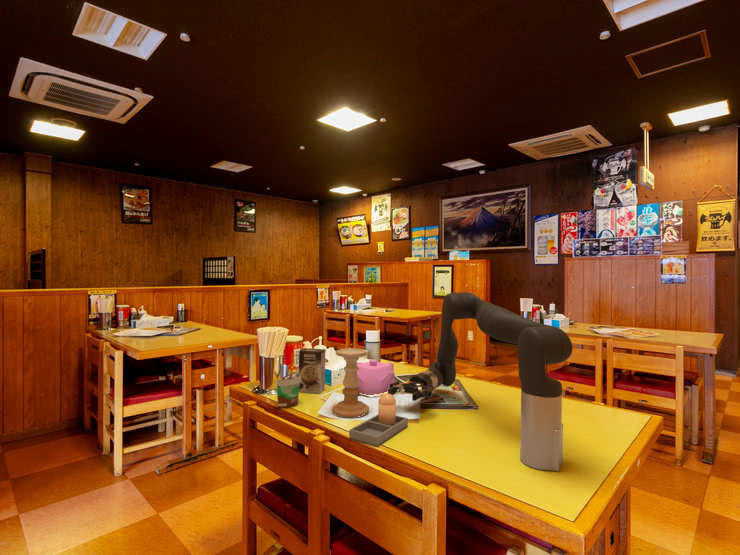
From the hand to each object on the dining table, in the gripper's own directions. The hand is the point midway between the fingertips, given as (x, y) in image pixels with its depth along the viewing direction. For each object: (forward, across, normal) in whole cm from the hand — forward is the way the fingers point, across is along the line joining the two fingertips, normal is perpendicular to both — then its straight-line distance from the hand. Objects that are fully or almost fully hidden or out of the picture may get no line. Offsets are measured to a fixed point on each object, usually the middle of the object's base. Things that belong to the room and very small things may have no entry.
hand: (401, 395), depth 125 cm
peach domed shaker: (+9, 0, +7) cm, 11 cm away
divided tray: (+13, 0, +8) cm, 15 cm away
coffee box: (-6, -43, +8) cm, 44 cm away
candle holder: (+4, -17, +8) cm, 19 cm away
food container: (+10, -38, +8) cm, 40 cm away
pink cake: (-19, -23, +8) cm, 31 cm away
